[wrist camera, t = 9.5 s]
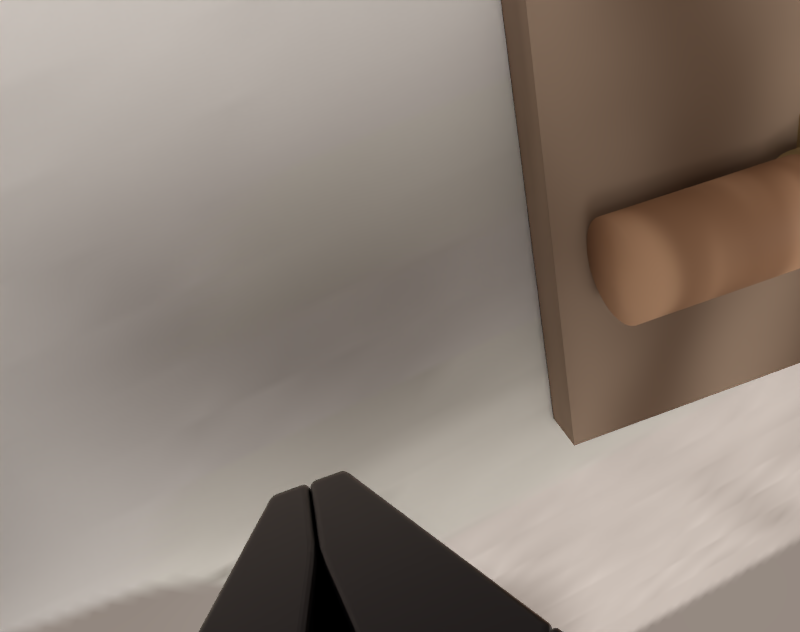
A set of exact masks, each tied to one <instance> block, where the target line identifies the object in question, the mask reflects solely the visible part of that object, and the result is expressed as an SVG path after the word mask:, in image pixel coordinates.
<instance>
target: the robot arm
mask: <svg viewBox="0 0 800 632" xmlns="http://www.w3.org/2000/svg"><path fill="white" fill-rule="evenodd" d="M199 632H562V631H561V630H560V629H558V628H553V629H552V627H551V625H550V624H549V623H548V622H547V621H546V620H544V619H543V618H542V617H540V616H539V615H538V614H536V613H535V612H534V611H532V610H531V609H530V608H528V607H527V606H526V605H524V604H523V603H522V602H520V601H519V600H518V599H516V598H515V597H514V596H512V595H511V594H510V593H508V592H507V591H506V590H504V589H503V588H502V587H500V586H499V585H498V584H496V583H495V582H494V581H492V580H491V579H490V578H488V577H487V576H486V575H484V574H483V573H482V572H480V571H479V570H478V569H476V568H475V567H474V566H472V565H471V564H470V563H468V562H467V561H466V560H464V559H463V558H461V557H460V556H459V555H457V554H456V553H455V552H453V551H452V550H451V549H449V548H448V547H447V546H445V545H444V544H443V543H441V542H440V541H439V540H437V539H436V538H435V537H433V536H432V535H431V534H429V533H428V532H427V531H425V530H424V529H423V528H421V527H420V526H419V525H417V524H416V523H415V522H413V521H412V520H411V519H409V518H408V517H407V516H405V515H404V514H403V513H401V512H400V511H399V510H397V509H396V508H395V507H393V506H392V505H391V504H389V503H388V502H387V501H385V500H384V499H383V498H381V497H380V496H379V495H377V494H376V493H375V492H373V491H372V490H371V489H369V488H368V487H367V486H365V485H364V484H363V483H361V482H360V481H359V480H357V479H356V478H355V477H353V476H352V475H351V474H349V473H348V472H345V471H341V472H338V473H335V474H332V475H330V476H327V477H324V478H321V479H318V480H316V481H314V482H313V483H312V485H311V489H310V488H309V487H308V486H306V485H301V486H298V487H296V488H293V489H290V490H287V491H284V492H281V493H279V494H276V495H274V496H273V497H272V498H271V499H270V501H269V503H268V504H267V506H266V508H265V510H264V512H263V514H262V516H261V517H260V519H259V521H258V523H257V525H256V527H255V529H254V530H253V532H252V534H251V536H250V538H249V540H248V541H247V543H246V545H245V547H244V549H243V551H242V553H241V554H240V556H239V558H238V560H237V562H236V564H235V566H234V567H233V569H232V571H231V573H230V575H229V577H228V578H227V580H226V582H225V584H224V586H223V588H222V590H221V591H220V593H219V595H218V597H217V599H216V601H215V603H214V605H213V606H212V608H211V610H210V612H209V614H208V616H207V617H206V619H205V621H204V623H203V625H202V627H201V628H200V630H199Z"/></svg>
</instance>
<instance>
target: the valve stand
mask: <svg viewBox="0 0 800 632" xmlns="http://www.w3.org/2000/svg"><path fill="white" fill-rule="evenodd" d="M501 2H502V10H503V18H504V26H505V34H506V42H507V50H508V58H509V66H510V74H511V82H512V90H513V98H514V106H515V114H516V122H517V129H518V137H519V145H520V153H521V161H522V169H523V177H524V185H525V193H526V201H527V209H528V217H529V225H530V233H531V241H532V248H533V256H534V264H535V272H536V280H537V288H538V296H539V304H540V312H541V320H542V328H543V336H544V344H545V352H546V360H547V368H548V375H549V383H550V391H551V399H552V407H553V415H554V419H555V421H556V422H557V423H558V425H559V426H560V427H561V429H562V430H563V431H564V432H565V434H566V435H567V436H568V438H569V439H570V440H571V442H572V443H573V444H574V445H577V444H579V443H582V442H585V441H588V440H590V439H593V438H596V437H598V436H601V435H604V434H607V433H609V432H612V431H615V430H618V429H620V428H623V427H626V426H628V425H631V424H634V423H637V422H639V421H642V420H645V419H648V418H650V417H653V416H656V415H659V414H661V413H664V412H667V411H669V410H672V409H675V408H678V407H680V406H683V405H686V404H689V403H691V402H694V401H697V400H699V399H702V398H705V397H708V396H710V395H713V394H716V393H719V392H721V391H724V390H727V389H730V388H732V387H735V386H738V385H740V384H743V383H746V382H749V381H751V380H754V379H757V378H760V377H762V376H765V375H768V374H770V373H773V372H776V371H779V370H781V369H784V368H787V367H790V366H792V365H795V364H798V363H800V0H501Z"/></svg>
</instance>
